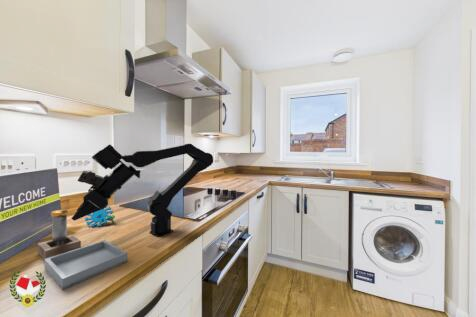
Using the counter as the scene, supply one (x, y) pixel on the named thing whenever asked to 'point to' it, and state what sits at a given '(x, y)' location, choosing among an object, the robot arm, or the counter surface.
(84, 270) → the tray
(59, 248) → the collar block
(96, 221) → the gear
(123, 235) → the counter surface
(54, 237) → the steel pin
